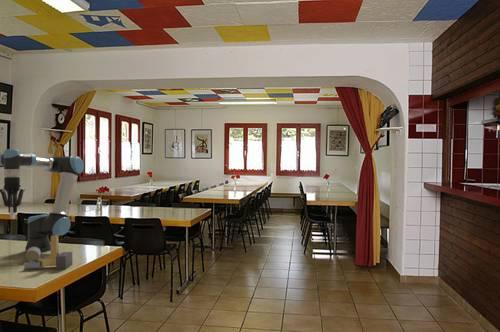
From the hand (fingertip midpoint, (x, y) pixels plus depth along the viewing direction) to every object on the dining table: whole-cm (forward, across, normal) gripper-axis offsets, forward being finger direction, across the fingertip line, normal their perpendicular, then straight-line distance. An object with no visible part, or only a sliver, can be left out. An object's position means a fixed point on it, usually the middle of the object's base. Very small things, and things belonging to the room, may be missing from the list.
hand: (12, 218), depth 219 cm
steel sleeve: (+26, +15, -8) cm, 31 cm away
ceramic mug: (+27, +8, +9) cm, 29 cm away
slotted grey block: (+26, +30, -8) cm, 41 cm away
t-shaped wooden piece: (+25, +25, -8) cm, 36 cm away
